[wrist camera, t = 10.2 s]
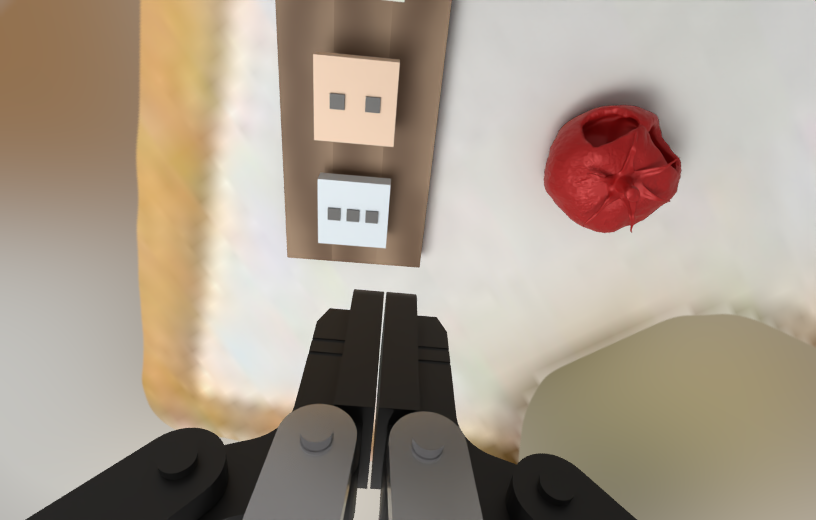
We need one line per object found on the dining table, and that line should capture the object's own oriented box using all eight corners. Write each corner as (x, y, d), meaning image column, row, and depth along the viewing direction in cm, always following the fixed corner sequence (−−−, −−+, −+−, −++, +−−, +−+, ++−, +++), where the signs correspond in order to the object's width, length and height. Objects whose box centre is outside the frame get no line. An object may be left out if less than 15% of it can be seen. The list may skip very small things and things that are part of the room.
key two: (400, 54, 34) (399, 63, 30) (394, 131, 37) (393, 147, 33) (322, 46, 34) (312, 54, 30) (322, 125, 36) (313, 140, 33)
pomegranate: (612, 222, 43) (659, 276, 35) (515, 188, 42) (541, 237, 34) (678, 120, 39) (749, 156, 31) (571, 77, 37) (617, 103, 29)
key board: (467, -153, 30) (471, -163, 28) (418, 253, 45) (419, 267, 43) (276, -176, 29) (266, -188, 27) (293, 244, 45) (287, 257, 42)
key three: (392, 167, 40) (390, 186, 36) (387, 226, 42) (385, 249, 39) (325, 161, 39) (317, 179, 36) (325, 221, 42) (317, 244, 39)
